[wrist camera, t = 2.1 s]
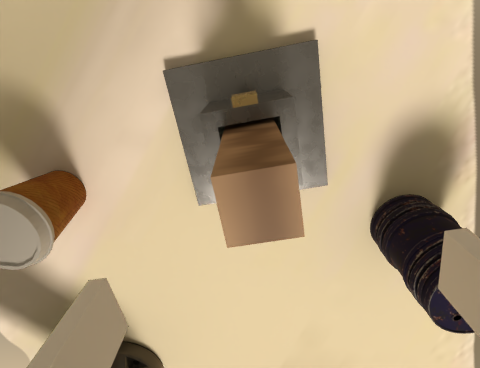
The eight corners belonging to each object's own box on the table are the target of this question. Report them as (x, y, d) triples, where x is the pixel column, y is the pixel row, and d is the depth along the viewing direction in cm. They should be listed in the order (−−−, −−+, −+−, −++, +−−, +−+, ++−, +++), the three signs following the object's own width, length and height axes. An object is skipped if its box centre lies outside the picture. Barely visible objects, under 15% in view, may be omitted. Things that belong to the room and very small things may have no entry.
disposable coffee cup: (21, 197, 42) (-59, 245, 31) (44, 146, 39) (-34, 179, 28) (81, 230, 44) (27, 286, 33) (108, 184, 41) (59, 229, 30)
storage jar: (398, 182, 40) (477, 244, 27) (451, 210, 42) (552, 283, 28) (356, 236, 44) (407, 315, 30) (407, 260, 46) (477, 345, 32)
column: (234, 156, 37) (226, 249, 19) (226, 116, 35) (208, 176, 17) (274, 149, 37) (306, 237, 18) (269, 108, 35) (297, 161, 16)
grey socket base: (200, 200, 42) (188, 240, 33) (165, 70, 35) (138, 73, 26) (324, 180, 40) (348, 216, 31) (314, 40, 34) (341, 32, 24)
